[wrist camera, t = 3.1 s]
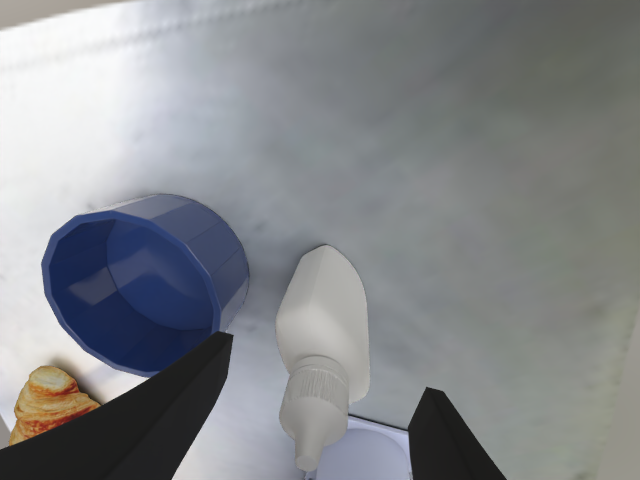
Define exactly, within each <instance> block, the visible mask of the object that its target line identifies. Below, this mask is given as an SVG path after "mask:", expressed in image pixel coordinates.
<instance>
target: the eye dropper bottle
mask: <svg viewBox="0 0 640 480" xmlns="http://www.w3.org/2000/svg"><path fill="white" fill-rule="evenodd" d="M275 332H276V338H277V343H278V347H279V351H280V354H281V357H282V360H283V362H284V364H285V367H286V369H287V371H288V373H289V374H290V376H289V380H288V384H287V387H286V391H285V394H284V398H283V401H282V405H281V409H280V412H279V413H280V414H279V419H280V424H281V425H282V428H283V429H284V431H285V432H286V433H287V434H288V435H289V436H290V437H291V438H292V439H293V440H295V464H296V466H297V467H298V468H299V469H301V470H303V471H307V472H310V471H314V470H315V469H316V468H317V466H318V463H319V460H320V457H321V454H322V450H323V447H324V446H328V445H331V444H334V443H335V442H337V441H339V440H340V439H341V438H342V437H343V435H344V434H345V432H346V430H347V427H348V405H349V404H352V403H355V402H357V401H359V400H361V399H362V398H363V397H365V396H366V394H367V392H368V390H369V386H370V357H369V335H368V315H367V301H366V295H365V291H364V287H363V284H362V282H361V279H360V277H359V275H358V273H357V272H356V270H355V269H354V267H353V266H352V264H351V263H350V262H349V261H348V260H347V259H346V258H345V257H344V256H343V255H342V254H341V253H340V252H339V251H337V250H336V249H335V248H333V247H332V246H329V245H324V246H321V247H318V248H316V249H314V250H312V251H310V252H308V253H307V254H305V255H304V256H303V257H302V258H301V260H300V262H299V264H298V266H297V268H296V271H295V273H294V275H293V277H292V279H291V282H290V284H289V286H288V288H287V291H286V293H285V295H284V298H283V300H282V302H281V305H280V307H279V310H278V312H277V316H276V321H275Z"/></svg>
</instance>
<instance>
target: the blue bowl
mask: <svg viewBox="0 0 640 480" xmlns="http://www.w3.org/2000/svg"><path fill="white" fill-rule="evenodd" d="M41 263H42V264H41V267H42V275H43V284H44V293H45V296H46V298H47V300H48V302H49V304H50V306H51V308H52V310H53V312H54V314H55V316H56V318H57V320H58V322H59V324H60V325H61V327H62V328H63V329H64V330H65V331H66V332H67V333H68V334H69V335H70V336H71V337H72V338H73V339H74V340H75V341H76V342H77V343H78V345H79V346H80V347H81V348H82V349H83V350H84V351H85V352H87V353H89V354H90V355H92V356H94V357H95V358H97V359H99V360H100V361H102V362H104V363H105V364H107V365H109V366H110V367H112V368H114V369H116V370H120V371H124V372H127V373H131V374H135V375H138V376H142V377H147V378H150V377H152V376H154V375H156V374H157V373H159V372H160V371H162V370H163V369H165V368H166V367H168V366H169V365H171V364H172V363H174V362H175V361H177V360H178V359H179V358H181V357H182V356H184V355H185V354H187V353H188V352H189V351H191V350H192V349H193V348H195V347H196V346H197V345H199V344H200V343H201V342H203V341H204V340H205V339H207V338H208V337H209V336H211V335H212V334H213V333H215V332H216V331H220V332H225V330H226V329H227V327H228V326H229V324H230V323H231V321H232V320H233V318H234V317H235V315H236V314H237V312H238V311H239V309H240V308H241V306H242V305H243V303H244V299H245V297H246V294H247V290H248V285H249V268H248V263H247V258H246V255H245V253H244V250H243V248H242V246H241V243H240V241H239V240H238V238H237V237H236V235H235V233H234V232H233V231H232V229H231V228H230V227H229V226H228V225H227V223H226V222H225V221H223V220H222V219H221V218H220V217H219V216H218V215H217V214H216V213H214V212H213V211H212V210H210V209H209V208H207V207H205V206H204V205H202V204H200V203H198V202H196V201H194V200H191V199H188V198H185V197H182V196H177V195H171V194H156V195H149V196H145V197H141V198H135V199H130V200H127V201H124V202H120V203H117V204H113V205H110V206H107V207H103V208H100V209H96V210H93V211H90V212H86V213H83V214H79V215H77V216H75V217H73V218H72V219H71V220H70V221H68V222H67V223H66V224H65V225H63V226H62V227H61V228H60V229H58V230H57V231H56V232H55V233H53V234H52V235H51V238H50V240H49V243H48V246H47V249H46V251H45V254H44V257H43V259H42V262H41Z"/></svg>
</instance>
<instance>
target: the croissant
mask: <svg viewBox="0 0 640 480" xmlns="http://www.w3.org/2000/svg"><path fill="white" fill-rule="evenodd" d="M100 406H101V405H100V404H98V403H97V402H94V401H93V400H91V399H90V398H89V397H88V395H87V394H85V393H80V392H79V389H78V386H77V382H76V380H75V379H73V378H72V377H70V376H69V375H68V374H67V373H66V372H64V371H62V370H61V369H60V368H56V367H52V366H40V367H39V368H37V369H36V370H34V371H33V372H32V373H31V374H30V375H29V380H28V381H27V382H26V383H25V386H24V388H23V389H22V390H21V392H20V395H19V398H18V400H17V402H16V405H15V408H14V412H15V416H16V418H17V419H18V420H17V421H16V425H15V427H14V429H13V431H12V433H11V436H10V440H9V446H11V445H14V444H16V443H19V442H21V441H24V440H26V439H29V438H31V437H34V436H36V435H38V434H41V433H43V432H45V431H48V430H50V429H53V428H55V427H57V426H60V425H62V424H64V423H66V422H69V421H71V420H73V419H75V418H77V417H79V416H81V415H83V414H85V413H87V412H89V411H91V410H93V409H96V408H98V407H100Z"/></svg>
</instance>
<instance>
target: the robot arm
mask: <svg viewBox="0 0 640 480" xmlns="http://www.w3.org/2000/svg"><path fill="white" fill-rule="evenodd" d="M232 342H233V335H231V334H228V333H224V332H220V331H216V332H215V333H213V334H212V335H211V336H209V337H208V338H207V339H205V340H204V341H203V342H201V343H200V344H199V345H197V346H196V347H195V348H193V349H192V350H191V351H189V352H188V353H187V354H185V355H184V356H182V357H181V358H179V359H178V360H177V361H175V362H174V363H172V364H171V365H169V366H168V367H166V368H165V369H163V370H162V371H160V372H159V373H157V374H156V375H154V376H152V377H151V378H149V379H148V380H146V381H144V382H143V383H141V384H140V385H138V386H136V387H134V388H133V389H131V390H129V391H128V392H126V393H124V394H122V395H120V396H119V397H117V398H115V399H113V400H111V401H109V402H107V403H106V404H104V405H102V406H100V407H98V408H96V409H93V410H91V411H89V412H87V413H85V414H83V415H81V416H79V417H77V418H75V419H73V420H71V421H69V422H66V423H64V424H62V425H60V426H57V427H55V428H53V429H50V430H48V431H45V432H43V433H41V434H38V435H36V436H34V437H31V438H29V439H26V440H24V441H21V442H19V443H16V444H14V445H11V446H8V447H6V448H3V449H1V450H0V480H171V479H172V478H173V476H174V474H175V472H176V470H177V468H178V467H179V465H180V463H181V462H182V460H183V458H184V457H185V455H186V453H187V451H188V450H189V448H190V446H191V445H192V443H193V441H194V440H195V438H196V436H197V434H198V433H199V431H200V429H201V428H202V426H203V424H204V423H205V421H206V419H207V417H208V416H209V414H210V412H211V410H212V409H213V407H214V405H215V403H216V401H217V399H218V397H219V395H220V392H221V390H222V388H223V386H224V383H225V381H226V379H227V375H228V368H229V362H230V355H231V349H232ZM411 470H412V474H413V480H507V479H506V478H505V477H504V475H503V474H502V473H501V471H500V470H499V469H498V468H497V466H496V465H495V464H494V462H493V461H492V460H491V458H490V457H489V456H488V454H487V453H486V451H485V450H484V449H483V447H482V446H481V445H480V443H479V442H478V440H477V439H476V438H475V436H474V435H473V433H472V432H471V430H470V429H469V428H468V426H467V425H466V423H465V422H464V420H463V419H462V417H461V416H460V415H459V413H458V412H457V410H456V409H455V407H454V406H453V404H452V403H451V401H450V400H449V399H448V397H447V396H446V394H445V393H444V392H443V391H440V390H436V389H432V388H429V387H426V389H425V391H424V393H423V395H422V398H421V400H420V402H419V404H418V406H417V408H416V411H415V413H414V415H413V417H412V419H411V422H410V424H409V426H408V432H407V431H403V430H400V429H396V428H392V427H389V426H385V425H381V424H378V423H374V422H370V421H367V420H363V419H359V418H356V417H352V416H348V427H347V430H346V432H345V434H344V435H343V437H342V438H341V439H340V440H339V441H337V442H335V443H334V444H331V445H328V446H324V447H323V450H322V454H321V457H320V460H319V463H318V466H317V468H316V469H315V470H314V471H310V472H307V473H306V476H305V479H304V480H410V476H409V474H410V472H411Z"/></svg>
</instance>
